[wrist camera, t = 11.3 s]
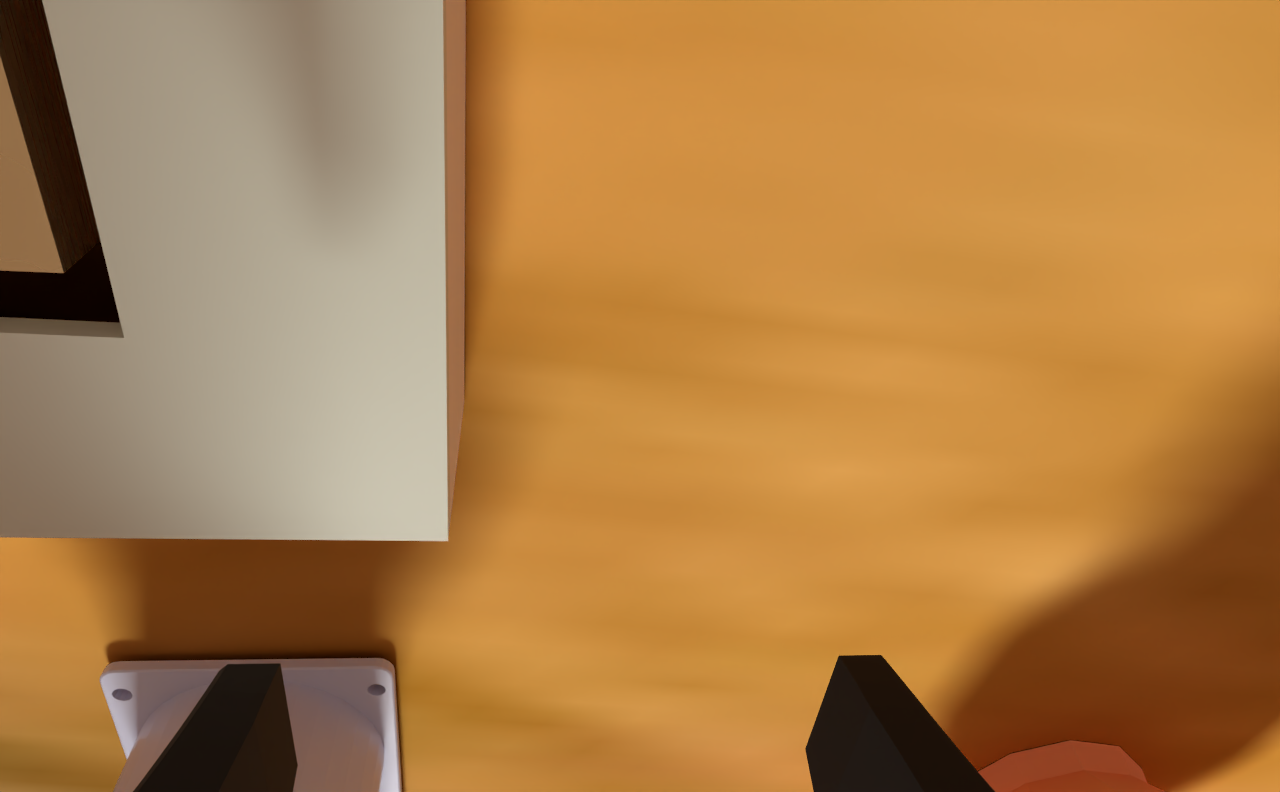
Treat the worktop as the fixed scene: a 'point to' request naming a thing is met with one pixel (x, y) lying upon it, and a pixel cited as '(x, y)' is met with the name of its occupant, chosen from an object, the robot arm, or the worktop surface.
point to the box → (253, 278)
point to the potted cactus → (1068, 770)
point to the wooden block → (38, 152)
